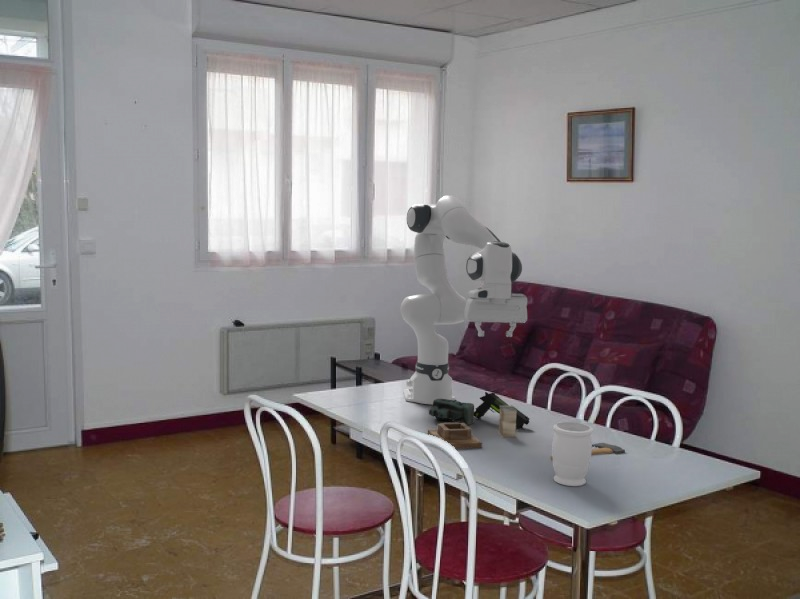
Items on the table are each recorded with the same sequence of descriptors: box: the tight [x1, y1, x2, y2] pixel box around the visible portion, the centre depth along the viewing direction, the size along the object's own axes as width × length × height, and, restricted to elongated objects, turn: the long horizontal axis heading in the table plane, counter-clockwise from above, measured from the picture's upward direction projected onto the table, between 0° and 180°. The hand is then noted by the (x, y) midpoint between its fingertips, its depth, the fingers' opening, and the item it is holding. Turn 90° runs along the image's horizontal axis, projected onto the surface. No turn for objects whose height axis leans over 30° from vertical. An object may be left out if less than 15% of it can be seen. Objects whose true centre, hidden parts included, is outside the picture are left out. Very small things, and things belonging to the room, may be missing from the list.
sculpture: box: [428, 399, 475, 426], centre depth 280 cm, size 12×8×15 cm
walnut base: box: [427, 422, 483, 450], centre depth 257 cm, size 16×12×4 cm
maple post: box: [498, 404, 518, 438], centre depth 266 cm, size 4×4×9 cm
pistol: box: [474, 391, 531, 430], centre depth 279 cm, size 21×3×10 cm, turn 53°
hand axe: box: [550, 442, 626, 462], centre depth 250 cm, size 27×2×10 cm
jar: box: [551, 421, 594, 487], centre depth 223 cm, size 11×10×15 cm
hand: (495, 336), depth 265 cm, fingers open, 8 cm apart
